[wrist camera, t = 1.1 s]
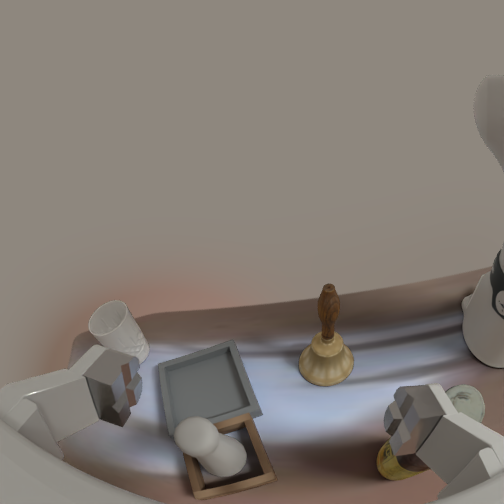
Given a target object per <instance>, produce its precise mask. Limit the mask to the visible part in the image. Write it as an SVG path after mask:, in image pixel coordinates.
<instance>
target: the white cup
mask: <svg viewBox="0 0 504 504" xmlns="http://www.w3.org/2000/svg"><path fill="white" fill-rule="evenodd" d="M88 328H89V331H90V332H91V334H92V335H93V336H94V337H95V338H96V339H97V340H98V341H99V342H100V343H101V344H102V346H103V347H106V348H109V349H113V350H116V351H119V352H122V353H126V354H129V355H132V356H135V357H137V358H138V359H139V364H141V363H142V362H144V360H145V359H146V358H147V357H148V354H149V350H150V348H149V343H148V342H147V340H146V338H145V337H144V335H143V333H142V331H141V329H140V328H139V326H138V324H137V322H136V321H135V319H134V318H133V316H132V314H131V313H130V311H129V309H128V307H127V305H126V304H125V303H124V302H122V301H118V300H114V301H110V302H107V303H105V304H103V305H101V306H100V307H99V308H98V309H97V310H96V311H95V312H94V313H93V314H92V316H91V317H90V320H89V324H88Z"/></svg>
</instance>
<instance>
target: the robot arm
mask: <svg viewBox="0 0 504 504" xmlns="http://www.w3.org/2000/svg"><path fill="white" fill-rule="evenodd" d="M474 117H475V121H476V125H477V128H478V131H479V133H480V136H481V138H482V139H483V141H484V143H485V144H486V146H487V147H488V148H489V150H490V151H491V152H492V153H493V155H494V156H495V157H496V159H497V160H498V162H499V164H500V166H501V168H502V170H503V172H504V75H488V76H487V77H485V78H484V79H483V81H482V82H481V83H480V85H479V86H478V88H477V91H476V94H475V98H474ZM462 309H463V313H464V319H463V335H464V339H465V341H466V344H467V346H468V347H469V349H470V350H471V352H472V353H473V354H474V355H475V356H476V357H477V358H478V359H479V360H480V361H482V362H483V363H485V364H487V365H489V366H492V367H497V368H504V243H503V247H502V249H501V250H500V251H499V252H498V254H497V257H496V258H495V260H494V263H493V266H492V270H491V271H490V272H487V273H486V274H483V275H482V276H481V278H480V280H479V282H478V285H477V287H476V289H475V291H474V293H473V294H471V295H469V296H467V297H465V298H464V299H463V301H462ZM139 368H140V364H139V359H138V358H137V357H135V356H132V355H129V354H126V353H122V352H119V351H116V350H113V349H109V348H106V347H103V346H101V345H98V344H97V345H93V346H92V347H91V348H90V349H89V350H88V351H87V352H86V353H85V354H84V355H83V356H82V357H81V358H80V359H79V360H78V361H77V362H76V363H75V364H74V365H73V366H72V367H71V368H70V369H69V370H67V369H62V370H58V371H54V372H51V373H47V374H44V375H39V376H36V377H32V378H28V379H24V380H20V381H16V382H12V383H8V384H6V385H5V386H4V387H3V388H2V389H1V390H0V504H165V503H162V502H158V501H155V500H152V499H149V498H146V497H143V496H140V495H137V494H134V493H131V492H129V491H126V490H123V489H121V488H118V487H116V486H113V485H111V484H109V483H106V482H104V481H102V480H100V479H97V478H95V477H93V476H91V475H89V474H87V473H85V472H83V471H81V470H79V469H77V468H75V467H73V466H71V465H69V464H68V463H66V462H64V461H62V460H63V458H64V454H63V452H62V450H61V449H60V447H59V446H58V444H57V442H58V441H60V440H62V439H64V438H66V437H68V436H70V435H72V434H74V433H76V432H78V431H80V430H82V429H84V428H86V427H88V426H90V425H91V424H93V423H95V422H97V421H99V419H101V420H104V421H106V422H109V423H112V424H115V425H118V426H121V427H123V426H124V424H125V423H126V421H127V419H128V418H129V416H130V414H131V411H130V407H132V406H134V405H136V404H137V403H138V401H139V399H140V396H141V393H142V378H141V377H140V375H139V374H138V373H137V371H138V370H139ZM394 399H395V401H394V402H393V403H391V404H390V405H389V406H388V408H387V410H386V412H385V416H384V427H385V430H386V432H387V433H388V434H390V435H391V436H392V437H391V439H390V441H389V442H390V445H391V448H392V451H393V454H394V456H399V455H407V454H414V453H416V455H417V456H418V457H419V458H420V459H421V460H422V461H423V462H424V463H425V464H426V465H427V466H428V467H430V468H431V469H432V470H433V471H434V472H435V473H436V474H437V475H438V476H439V477H440V478H441V479H442V480H444V481H445V482H446V483H447V484H448V485H447V486H446V487H445V488H444V489H442V490H441V491H440V492H439V494H438V495H437V496H438V499H439V500H436V501H432V502H429V503H426V504H504V437H503V436H502V435H500V434H498V433H496V432H495V431H493V430H491V429H489V428H487V427H486V426H484V425H482V424H481V423H479V422H477V421H475V420H474V419H472V418H470V417H468V416H467V415H465V414H463V413H462V412H460V413H458V412H457V410H456V409H455V407H454V406H453V404H452V402H451V401H450V399H449V398H448V396H447V394H446V393H445V391H444V390H443V388H442V387H441V385H439V384H437V383H435V384H426V385H418V386H403V387H399V388H398V389H397V390H396V392H395V394H394Z"/></svg>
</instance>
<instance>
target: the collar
mask: <svg viewBox="0 0 504 504" xmlns="http://www.w3.org/2000/svg"><path fill="white" fill-rule="evenodd" d="M213 425H214V426H215V427H216V428H217V430H218V433H221V434H227V433H230V432H233V431H237V430H240V429H243V428H247V431H248V433H249V436H250V439H251V441H252V444H253V447H254V449H255V452H256V454H257V457H258V459H259V462H260V464H261V467H262V469H263V472H264V475H260V476H257V477H254V478H251V479H247V480H244V481H240V482H236V483H233V484H229V485H225V486H221V487H216V488H212V489H206V486H205V483H204V480H203V476H202V473H201V469H200V466H199V462H198V460H197V458H196V457H192V456H190V455H187V454H185V453H183V456H184V460H185V464H186V468H187V472H188V475H189V479H190V483H191V486H192V490H193V493H194V497H195V499H198V500H207V499H212V498H217V497H221V496H226V495H230V494H234V493H238V492H242V491H245V490H249V489H252V488H256V487H259V486H262V485H266V484H269V483H272V482H275V481H278V480H277V477H276V475H275V473H274V470H273V468H272V465H271V463H270V461H269V458H268V456H267V453H266V451H265V449H264V446H263V444H262V441H261V439H260V436H259V434H258V431H257V428H256V426H255V423H254V421H253V418H252V417H251V415H250V413H246V414H243V415H240V416H237V417H234V418H231V419H227V420H224V421H221V422H218V423H214V424H213Z"/></svg>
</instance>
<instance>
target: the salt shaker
mask: <svg viewBox="0 0 504 504" xmlns="http://www.w3.org/2000/svg"><path fill="white" fill-rule="evenodd" d="M174 439H175V443H176V445H177V446H178V447H179V448H180V449H181V451H182V452H183V453H185V454H187V455H190V456H192V457H196V458H197V460H198V461H199V462H200V464H201V465H202V466H203V467H204V468H205V469H206V470H207V471H208V472H209V473H210V474H213V475H215V476H218V477H228V476H233V475H235V474H236V473H238V472H240V471H241V470H242V468H243V467H244V465H245V464H246V457H247V454H246V451H245V449H244V447H243V445H242V444H241V443H240V442H239V441H237V440H236V439H235V438H232V437H229V436H226V435H224V434H221V433H218V430H217V428H216V427H215V426H214V425H213V424H212V423H211V422H210V421H209V420H208V419H205V418H202V417H199V416H194V417H188V418H186V419H184V420H182V421H181V422H180V423H179V424H178V426H177V427H176V429H175V433H174Z"/></svg>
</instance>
